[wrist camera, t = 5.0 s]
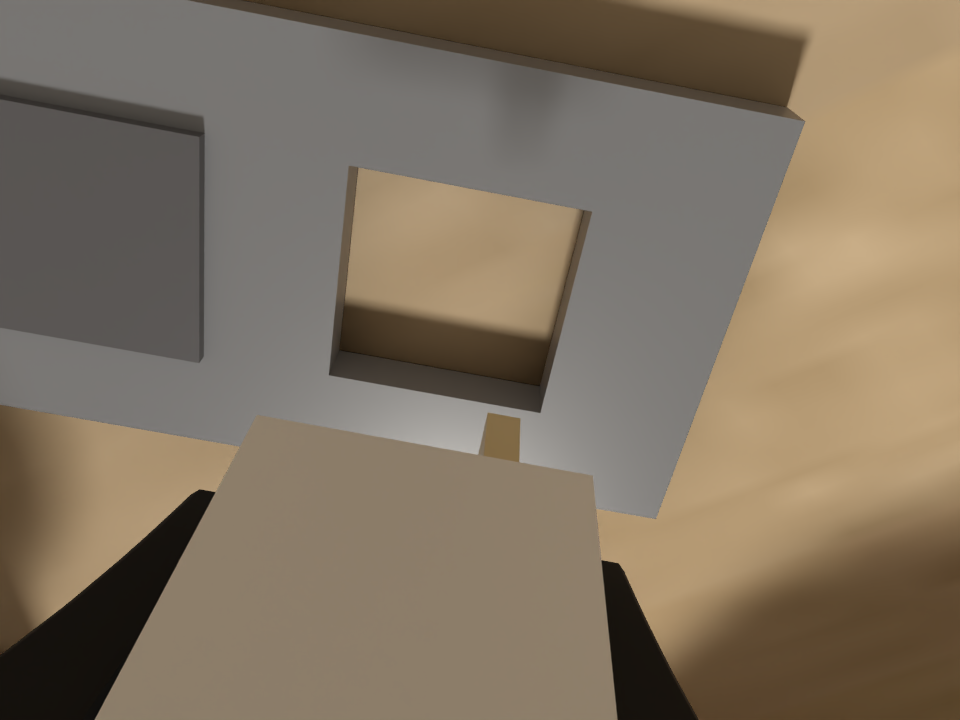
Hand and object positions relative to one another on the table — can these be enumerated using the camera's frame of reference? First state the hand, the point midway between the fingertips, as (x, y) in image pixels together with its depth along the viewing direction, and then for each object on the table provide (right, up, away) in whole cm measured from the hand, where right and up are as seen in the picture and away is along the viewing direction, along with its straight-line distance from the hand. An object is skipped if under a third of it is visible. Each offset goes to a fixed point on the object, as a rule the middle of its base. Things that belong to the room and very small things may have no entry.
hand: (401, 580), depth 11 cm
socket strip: (-3, +6, +7) cm, 10 cm away
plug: (0, +1, +2) cm, 2 cm away
